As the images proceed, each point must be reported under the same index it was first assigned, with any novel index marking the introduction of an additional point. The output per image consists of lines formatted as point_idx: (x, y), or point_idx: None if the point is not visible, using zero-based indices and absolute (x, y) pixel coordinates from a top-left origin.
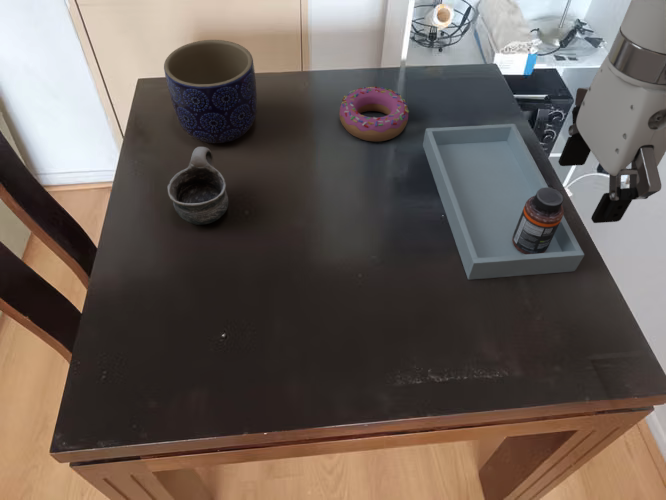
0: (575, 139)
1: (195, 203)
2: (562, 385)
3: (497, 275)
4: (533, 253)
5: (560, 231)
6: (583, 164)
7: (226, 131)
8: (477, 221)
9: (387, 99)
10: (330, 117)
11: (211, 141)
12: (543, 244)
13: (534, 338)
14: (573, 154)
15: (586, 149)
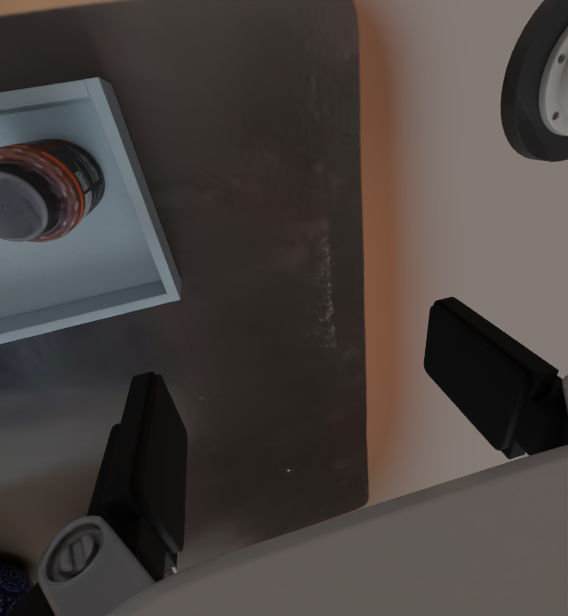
0: (169, 553)
1: (173, 569)
2: (342, 166)
3: (166, 241)
4: (102, 178)
5: (18, 110)
6: (159, 374)
7: (15, 591)
8: (40, 270)
9: None
10: None
11: (30, 579)
12: (91, 170)
13: (273, 194)
14: (176, 462)
15: (157, 452)
